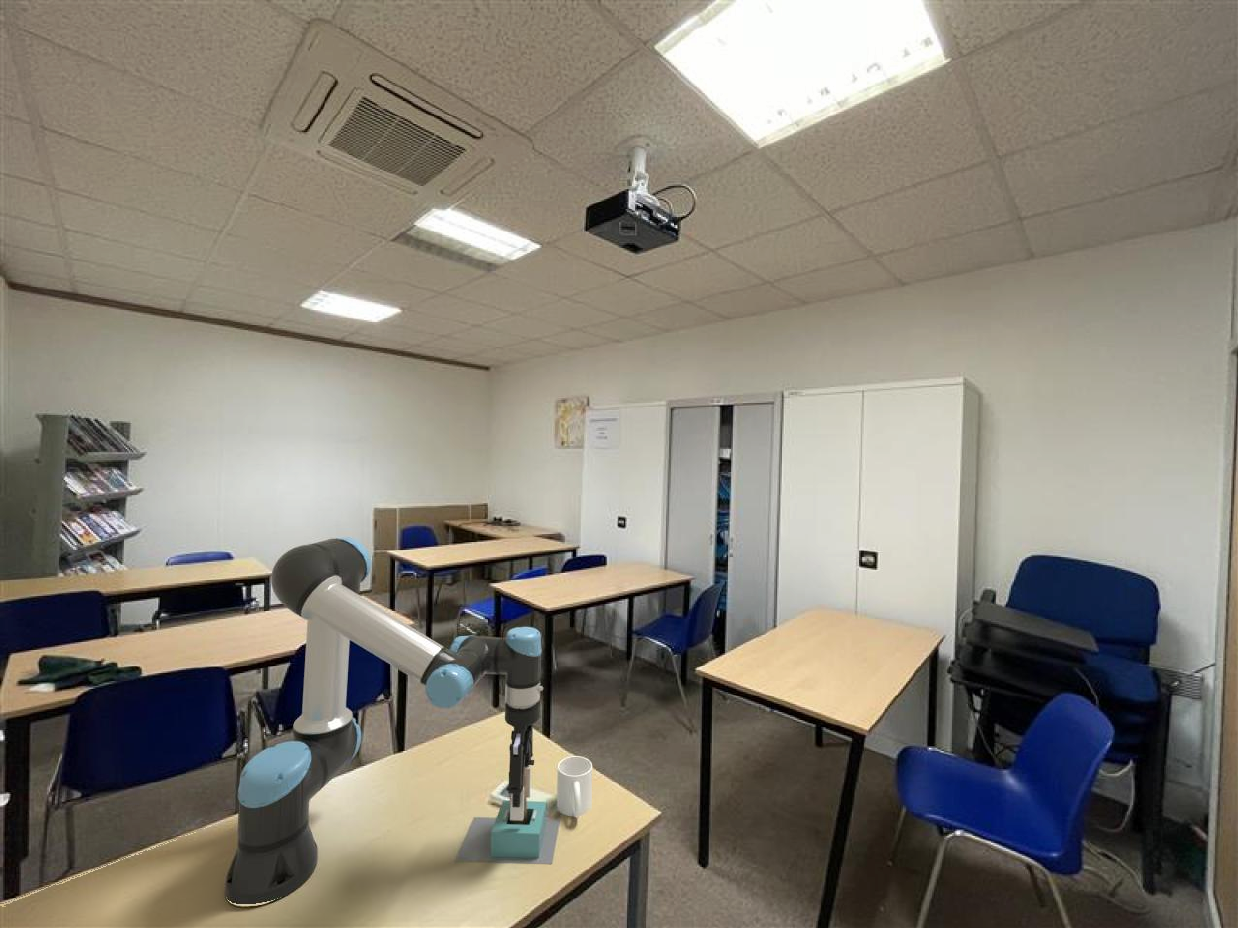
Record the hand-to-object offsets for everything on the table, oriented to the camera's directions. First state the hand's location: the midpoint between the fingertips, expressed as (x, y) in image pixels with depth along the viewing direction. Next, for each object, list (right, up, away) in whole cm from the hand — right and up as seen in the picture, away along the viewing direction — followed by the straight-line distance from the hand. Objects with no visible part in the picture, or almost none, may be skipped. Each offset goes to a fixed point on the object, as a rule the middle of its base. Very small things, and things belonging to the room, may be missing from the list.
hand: (520, 807), depth 109 cm
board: (-2, -8, 0) cm, 8 cm away
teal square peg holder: (0, -7, 0) cm, 7 cm away
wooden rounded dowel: (0, -7, 0) cm, 7 cm away
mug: (+11, -8, +10) cm, 17 cm away
